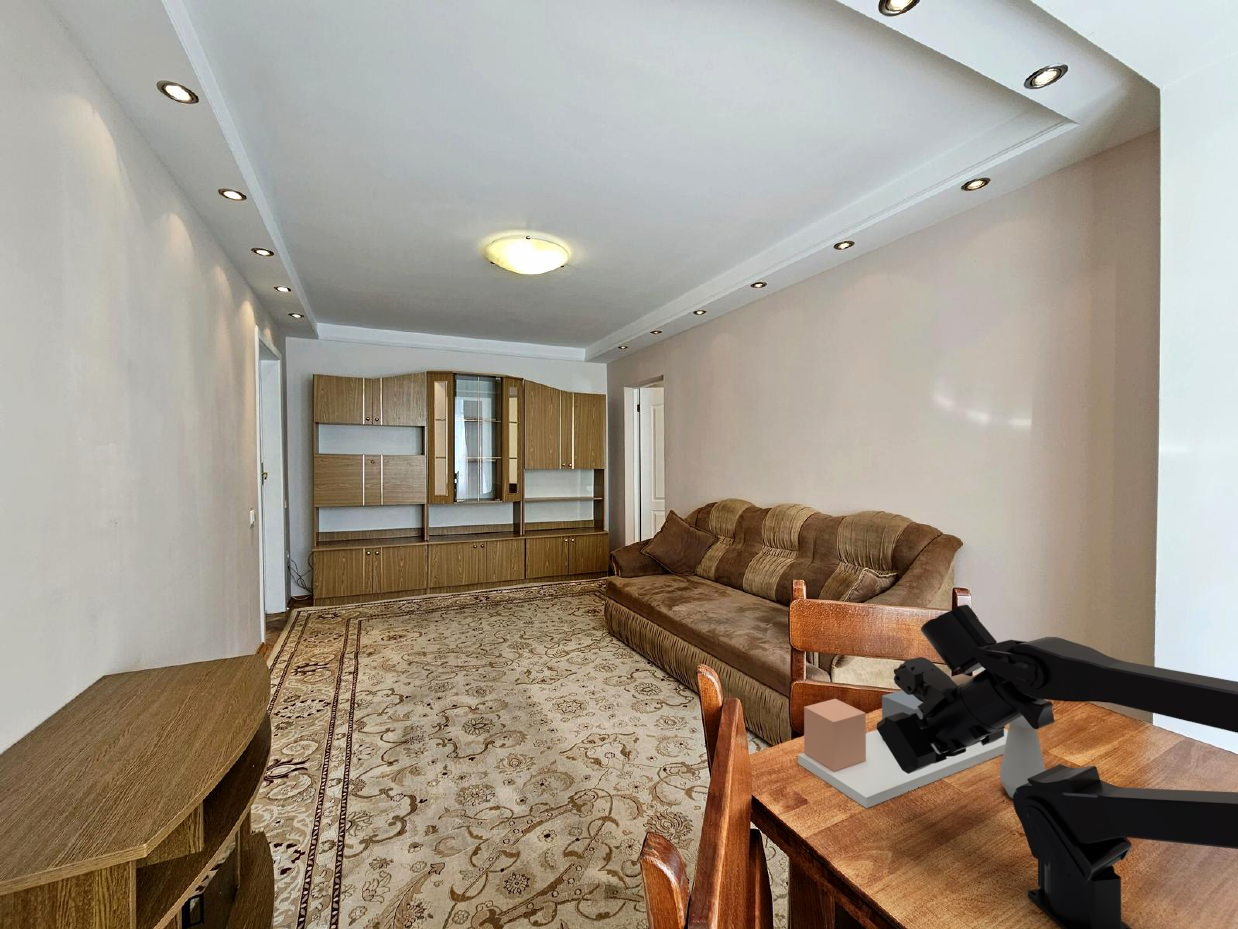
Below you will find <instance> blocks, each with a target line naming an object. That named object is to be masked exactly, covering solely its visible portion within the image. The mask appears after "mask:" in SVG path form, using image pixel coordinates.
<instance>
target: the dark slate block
mask: <svg viewBox="0 0 1238 929" xmlns="http://www.w3.org/2000/svg"><path fill="white" fill-rule="evenodd" d="M922 703H923V702H921V701H920V700H918V699H917V698H916V697H915V696H913V695H907V694H906V693H905V692H904V691H903V690H902V689H901V690H898V691H895V692H890V693H885V694H883V695H881V720H882V719H884V718H885V717H888V716H891V715H894V714H898V713H901V712H904V713H907V714H909V715H910V714H914V713H917V715H918V716H919V718H920V719H922V717H923V714H922V712H921V711H920V710H919V708H918V707H917V706H919V705H920V704H922ZM882 740H883V738H882ZM883 741H884V740H883Z"/></svg>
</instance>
